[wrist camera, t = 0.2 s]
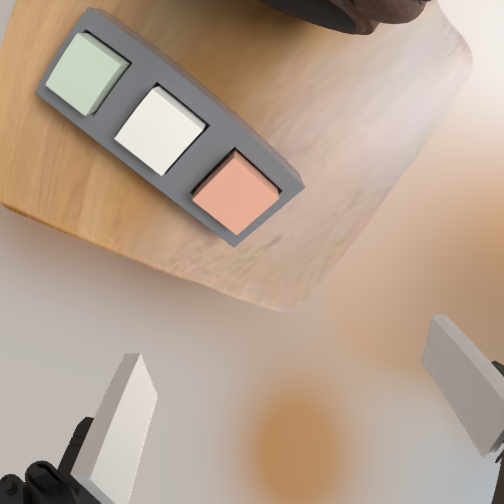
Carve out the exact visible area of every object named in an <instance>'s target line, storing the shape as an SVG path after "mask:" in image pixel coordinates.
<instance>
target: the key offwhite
mask: <svg viewBox="0 0 504 504" xmlns="http://www.w3.org/2000/svg"><path fill="white" fill-rule="evenodd" d="M205 125H206V123H205V122H204V121H203V120H202V119H201V118H199V117H198V116H197V115H196V114H195V113H193V112H192V111H191V110H190V109H189V108H187V107H186V106H185V105H184V104H183V103H181V102H180V101H179V100H178V99H176V98H175V97H174V96H173V95H172V94H170V93H169V92H168V91H167V90H165V89H164V88H163V87H162V86H158V87H155V88H153V89H152V90H151V91H150V92H149V93H148V95H147V96H146V97H145V98H144V100H143V101H142V102H141V103H140V105H139V106H138V107H137V108H136V110H135V111H134V112H133V114H132V115H131V116H130V118H129V119H128V120H127V122H126V123H125V124H124V126H123V127H122V128H121V130H120V131H119V133H118V134H117V135H116V137H115V138H114V139H115V140H116V141H118V142H119V143H120V144H121V145H123V146H124V147H125V148H126V149H128V150H129V151H130V152H132V153H133V154H134V155H135V156H137V157H138V158H139V159H140V160H142V161H143V162H144V163H146V164H147V165H148V166H149V167H151V168H152V169H153V170H154V171H156V172H157V173H158V174H160V175H161V176H162V175H163V174H164V173H165V172H166V170H167V169H168V168H169V167H170V166H171V165H172V163H173V162H174V161H175V160H176V159H177V158H178V157H179V156H180V154H181V153H182V152H183V151H184V150H185V149H186V148H187V147H188V146H189V144H190V143H191V142H192V141H193V140H194V139H195V138H196V137H197V136H198V135H199V134H200V133H201V132H202V130H203V129H204V127H205Z"/></svg>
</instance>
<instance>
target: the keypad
mask: <svg viewBox="0 0 504 504" xmlns="http://www.w3.org/2000/svg"><path fill="white" fill-rule="evenodd" d="M77 33H91V34H92V35H94V36H95V37H96V38H98V39H99V40H101V41H102V42H103V43H105V44H106V45H108V46H109V47H110V48H112V49H113V50H114V51H116V52H117V53H119V54H120V55H121V56H123V57H124V58H125V59H127V60H128V61H129V62H131V65H130V66H129V67H128V68H127V70H126V71H125V72H124V74H123V75H122V76H121V78H120V79H119V80H118V82H117V83H116V84H115V86H114V87H113V88H112V90H111V91H110V93H109V94H108V95H107V97H106V98H105V100H104V101H103V103H102V104H101V105H100V107H99V108H98V110H96V111H95V112H93V113H91V114H89V115H87V116H84V115H83V114H82V113H81V112H79V111H78V110H77V109H75V108H74V107H73V106H72V105H70V104H69V103H68V102H66V101H65V100H64V99H63V98H61V97H60V96H59V95H58V94H56V93H55V92H54V91H52V90H51V89H50V88H49V87H47V86H46V85H45V84H46V82H47V81H48V79H49V77H50V75H51V74H52V72H53V70H54V68H55V67H56V65H57V63H58V62H59V60H60V59H61V57H62V55H63V54H64V52H65V51H66V49H67V48H68V46H69V45H70V43H71V42H72V40H73V39H74V37H75V36H76V34H77ZM158 86H162V87H163V88H164V89H165V90H167V91H168V92H169V93H170V94H172V95H173V96H174V97H175V98H176V99H178V100H179V101H180V102H181V103H183V104H184V105H185V106H186V107H187V108H189V109H190V110H191V111H192V112H193V113H195V114H196V115H197V116H198V117H199V118H201V119H202V120H203V121H204V122H205V123H206V125H205V127H204V129H203V130H202V132H201V133H200V134H199V135H198V136H197V137H196V138H195V139H194V140H193V141H192V142H191V143H190V144H189V146H188V147H187V148H186V149H185V150H184V151H183V152H182V153H181V154H180V156H179V157H178V158H177V159H176V160H175V161H174V162H173V163H172V165H171V166H170V167H169V168H168V169H167V170H166V172H165V173H164V174H163V175H162V176H161V175H160V174H158V173H157V172H156V171H154V170H153V169H152V168H151V167H149V166H148V165H147V164H146V163H144V162H143V161H142V160H140V159H139V158H138V157H137V156H135V155H134V154H133V153H132V152H130V151H129V150H128V149H126V148H125V147H124V146H123V145H121V144H120V143H119V142H118V141H116V140H115V139H114V138H115V137H116V135H117V134H118V133H119V131H120V130H121V128H122V127H123V126H124V124H125V123H126V122H127V120H128V119H129V118H130V116H131V115H132V114H133V112H134V111H135V110H136V108H137V107H138V106H139V105H140V103H141V102H142V101H143V100H144V98H145V97H146V96H147V95H148V93H149V92H150V91H151V90H152V89H153V88H155V87H158ZM35 93H36V94H38V95H39V96H40V97H41V98H43V99H44V100H45V101H46V102H48V103H49V104H50V105H51V106H53V107H54V108H55V109H57V110H58V111H59V112H60V113H62V114H63V115H64V116H65V117H67V118H68V119H69V120H70V121H72V122H73V123H74V124H76V125H77V126H78V127H79V128H81V129H82V130H83V131H84V132H86V133H87V134H88V135H90V136H91V137H92V138H93V139H95V140H96V141H97V142H98V143H100V144H101V145H102V146H104V147H105V148H106V149H107V150H109V151H110V152H111V153H112V154H114V155H115V156H116V157H118V158H119V159H120V160H121V161H123V162H124V163H125V164H127V165H128V166H129V167H130V168H132V169H133V170H134V171H136V172H137V173H138V174H139V175H141V176H142V177H143V178H145V179H146V180H147V181H148V182H150V183H151V184H152V185H154V186H155V187H156V188H157V189H159V190H160V191H161V192H163V193H164V194H165V195H166V196H168V197H169V198H170V199H172V200H173V201H174V202H175V203H177V204H178V205H179V206H181V207H182V208H183V209H185V210H186V211H187V212H188V213H190V214H191V215H192V216H194V217H195V218H196V219H197V220H199V221H200V222H201V223H203V224H204V225H205V226H207V227H208V228H209V229H210V230H212V231H213V232H214V233H216V234H217V235H218V236H220V237H221V238H222V239H223V240H225V241H226V242H227V243H229V244H230V245H231V246H233V247H236V246H237V245H238V244H239V243H240V242H241V241H243V240H244V239H245V238H246V237H247V236H248V235H250V234H251V233H252V232H253V231H254V230H255V229H257V228H258V227H259V226H260V225H261V224H263V223H264V222H265V221H266V220H267V219H268V218H270V217H271V216H272V215H273V214H274V213H276V212H277V211H278V210H279V209H280V208H281V207H283V206H284V205H285V204H286V203H287V202H289V201H290V200H291V199H292V198H293V197H294V196H296V195H297V194H298V193H299V192H300V191H302V190H303V189H304V188H305V186H304V184H303V182H302V179H301V177H300V174H299V173H298V172H297V171H296V170H295V169H294V168H293V167H292V166H291V165H290V164H289V163H288V162H287V161H286V160H285V159H284V158H283V157H282V156H281V155H280V154H279V153H278V152H277V151H276V150H275V149H274V148H273V147H272V146H271V145H269V144H268V143H267V142H266V141H265V140H264V139H263V138H262V137H261V136H260V135H259V134H258V133H257V132H256V131H255V130H254V129H252V128H251V127H250V126H249V125H248V124H247V123H246V122H245V121H244V120H243V119H242V118H240V117H239V116H238V115H237V114H236V113H235V112H234V111H233V110H232V109H230V108H229V107H228V106H227V105H226V104H225V103H224V102H222V101H221V100H220V99H219V98H218V97H217V96H216V95H214V94H213V93H212V92H211V91H210V90H209V89H207V88H206V87H205V86H204V85H203V84H201V83H200V82H199V81H198V80H197V79H195V78H194V77H193V76H192V75H190V74H189V73H188V72H187V71H186V70H184V69H183V68H182V67H181V66H179V65H178V64H177V63H176V62H174V61H173V60H172V59H170V58H169V57H168V56H167V55H165V54H164V53H163V52H161V51H160V50H159V49H158V48H156V47H155V46H154V45H152V44H151V43H150V42H148V41H147V40H145V39H144V38H143V37H141V36H140V35H139V34H137V33H136V32H135V31H133V30H132V29H130V28H129V27H127V26H126V25H125V24H123V23H122V22H120V21H119V20H117V19H116V18H115V17H113V16H112V15H110V14H109V13H107V12H106V11H104V10H99V9H94V8H89V7H88V9H87V10H86V11H85V13H84V14H83V15H82V17H81V18H80V19H79V21H78V22H77V23H76V25H75V26H74V28H73V29H72V31H71V32H70V33H69V35H68V36H67V38H66V39H65V41H64V42H63V44H62V46H61V47H60V49H59V50H58V52H57V53H56V55H55V57H54V58H53V60H52V62H51V63H50V65H49V67H48V69H47V70H46V72H45V74H44V76H43V77H42V79H41V81H40V83H39V85H38V87H37V89H36V91H35ZM234 149H236V150H238V151H239V152H240V153H241V154H242V155H243V156H244V157H245V158H246V159H248V160H249V161H250V162H251V163H252V164H253V165H254V166H255V167H256V168H257V169H259V170H260V171H261V172H262V173H263V174H264V175H265V176H266V177H267V178H268V179H269V180H270V181H272V182H273V183H274V184H275V185H276V186H277V190H278V194H279V199H278V200H277V201H276V202H275V203H274V204H272V205H271V206H270V207H269V208H268V209H267V210H265V211H264V212H263V213H262V214H261V215H260V216H259V217H257V218H256V219H255V220H254V221H253V222H252V223H250V224H249V225H248V226H247V227H246V228H245V229H244V230H242V231H241V232H240V233H239V234H238V235H236V234H234V233H233V232H232V231H230V230H229V229H228V228H227V227H225V226H224V225H223V224H222V223H220V222H219V221H218V220H217V219H215V218H214V217H213V216H212V215H210V214H209V213H208V212H206V211H205V210H204V209H203V208H201V207H200V206H199V205H198V204H196V203H195V202H194V201H193V200H192V199H193V195H194V192H195V189H196V187H197V186H198V185H199V184H200V183H201V182H202V181H203V180H204V179H205V178H206V177H207V176H208V175H209V174H210V173H211V172H212V171H213V170H214V169H215V168H216V167H217V166H218V165H219V164H220V163H221V162H222V161H223V160H224V159H225V158H226V157H227V156H228V155H229V154H230V153H231V152H232V151H233V150H234Z"/></svg>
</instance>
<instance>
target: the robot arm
mask: <svg viewBox="0 0 504 504" xmlns="http://www.w3.org/2000/svg"><path fill="white" fill-rule="evenodd" d="M422 364H423V365H424V367H425V368H426V370H427V371H428V372H429V374H430V375H431V377H432V378H433V380H434V381H435V383H436V384H437V385H438V387H439V389H440V390H441V392H442V393H443V395H444V396H445V398H446V399H447V401H448V403H449V404H450V405H451V407H452V409H453V410H454V411H455V413H456V415H457V417H458V418H459V420H460V421H461V423H462V425H463V426H464V428H465V429H466V431H467V433H468V434H469V436H470V438H471V439H472V441H473V443H474V444H475V446H476V448H477V450H478V451H479V453H480V455H481V456H482V458H485V457H487V456H489V455H491V454H492V453H494V452H496V451H497V449H498V448H499V447H500V446H501V444H502V443H504V365H502V364H500V363H498V362H497V361H493V362H490V361H489V360H488V359H487V358H486V357H485V356H484V354H483V353H482V352H481V351H480V350H479V349H478V348H477V347H476V346H475V345H474V344H473V343H472V341H471V340H470V339H469V338H468V337H467V336H466V335H465V334H464V333H463V332H462V331H461V330H460V329H459V328H458V327H457V326H456V325H455V324H454V323H453V322H452V321H451V320H450V319H449V318H448V317H447V316H446V315H445V314H440V315H436V316H432V317H431V322H430V327H429V332H428V336H427V341H426V345H425V349H424V354H423V358H422ZM157 398H158V396H157V394H156V391H155V389H154V386H153V384H152V382H151V379H150V377H149V374H148V372H147V369H146V366H145V364H144V361H143V359H142V356H141V354H140V353H132V354H128V353H127V354H125V355H124V357H123V359H122V361H121V363H120V365H119V367H118V369H117V371H116V373H115V375H114V378H113V379H112V381H111V383H110V386H109V388H108V390H107V392H106V394H105V396H104V398H103V400H102V403H101V405H100V407H99V409H98V411H97V413H96V416H95V418H91V417H85V418H84V419H83V420H82V421H81V422H80V423H79V424H78V425H77V427H76V429H75V432H74V434H73V437H72V438H71V440H70V442H69V443H70V444H69V445H68V447H67V449H66V451H65V453H64V455H63V458H62V460H61V462H60V464H59V467H58V469H56V468H55V467H54V466H53V465H52V464H50V463H49V462H47V461H37V462H35V463H33V464H31V465H30V467H28V469H27V470H26V473H25V481H26V482H23V481H22V480H21V479H20V478H19V477H18V476H16V475H14V474H8V475H5V476H4V477H3V478H1V480H0V504H129V501H130V496H131V493H132V489H133V484H134V481H135V477H136V473H137V469H138V465H139V461H140V458H141V454H142V451H143V446H144V443H145V440H146V436H147V432H148V429H149V425H150V422H151V418H152V415H153V412H154V408H155V405H156V401H157ZM501 458H502V460H501V463H500V464H501V466H500V471H499V476H498V480H497V485H496V489H495V492H494V496H493V500H492V503H491V504H504V450H503V451H502V452H501V454H500V455H499V456H498V457H497V459H496V462H495V463H497V462H498V461H499V460H500V459H501Z"/></svg>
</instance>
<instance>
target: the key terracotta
mask: <svg viewBox="0 0 504 504" xmlns="http://www.w3.org/2000/svg"><path fill="white" fill-rule="evenodd" d="M278 199H279V194H278V190H277V186H276V185H275V184H274V183H273V182H272V181H270V180H269V179H268V178H267V177H266V176H265V175H264V174H263V173H262V172H261V171H260V170H259V169H257V168H256V167H255V166H254V165H253V164H252V163H251V162H250V161H249V160H248V159H246V158H245V157H244V156H243V155H242V154H241V153H240V152H239V151H238V150H236V149H234V150H233V151H232V152H231V153H230V154H229V155H228V156H227V157H226V158H225V159H224V160H223V161H222V162H221V163H220V164H219V165H218V166H217V167H216V168H215V169H214V170H213V171H212V172H211V173H210V174H209V175H208V176H207V177H206V178H205V179H204V180H203V181H202V182H201V183H200V184H199V185H198V186H197V187H196V189H195V192H194V195H193V199H192V200H193V201H194V202H195V203H196V204H198V205H199V206H200V207H201V208H203V209H204V210H205V211H206V212H208V213H209V214H210V215H212V216H213V217H214V218H215V219H217V220H218V221H219V222H220V223H222V224H223V225H224V226H225V227H227V228H228V229H229V230H230V231H232V232H233V233H234V234H236V235H238V234H239V233H240V232H241V231H242V230H244V229H245V228H246V227H247V226H248V225H249V224H250V223H252V222H253V221H254V220H255V219H256V218H257V217H259V216H260V215H261V214H262V213H263V212H264V211H265V210H267V209H268V208H269V207H270V206H271V205H272V204H274V203H275V202H276V201H277V200H278Z"/></svg>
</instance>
